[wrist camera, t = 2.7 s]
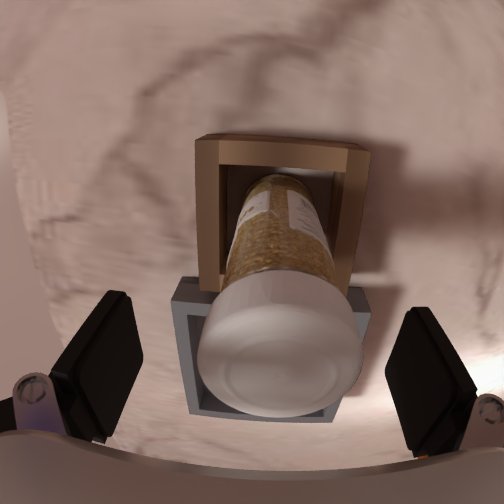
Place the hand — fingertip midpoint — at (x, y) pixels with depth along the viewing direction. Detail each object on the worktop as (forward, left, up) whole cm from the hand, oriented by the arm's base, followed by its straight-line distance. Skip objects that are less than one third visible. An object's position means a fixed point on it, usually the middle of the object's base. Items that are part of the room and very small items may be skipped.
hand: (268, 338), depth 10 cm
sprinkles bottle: (0, -1, -11) cm, 11 cm away
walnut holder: (0, -1, -11) cm, 11 cm away
